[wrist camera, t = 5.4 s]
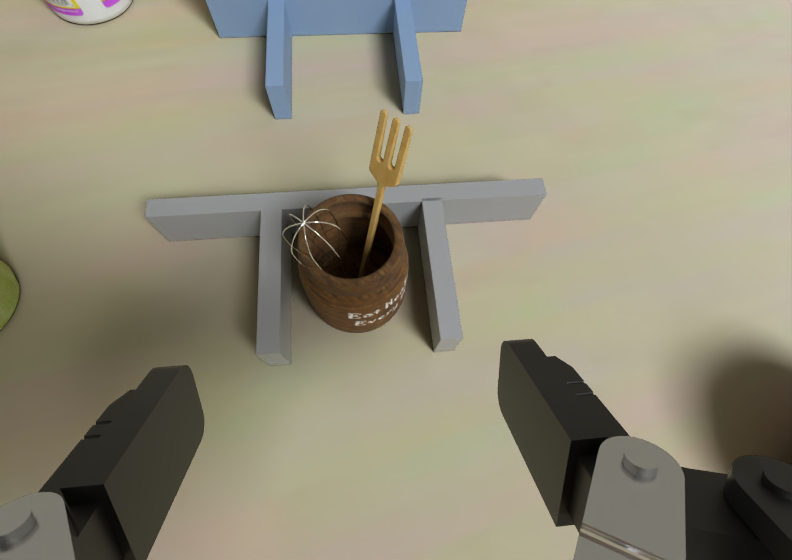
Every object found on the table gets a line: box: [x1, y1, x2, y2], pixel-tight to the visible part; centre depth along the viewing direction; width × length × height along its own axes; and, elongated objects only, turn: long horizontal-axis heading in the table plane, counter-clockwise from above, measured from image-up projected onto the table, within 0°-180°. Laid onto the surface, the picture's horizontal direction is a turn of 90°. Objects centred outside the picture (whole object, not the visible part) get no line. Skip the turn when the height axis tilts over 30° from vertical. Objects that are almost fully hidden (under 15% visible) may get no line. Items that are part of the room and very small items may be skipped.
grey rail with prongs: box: [145, 178, 546, 366], centre depth 25 cm, size 10×24×3 cm, turn 95°
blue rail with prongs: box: [206, 0, 467, 119], centre depth 30 cm, size 12×20×8 cm, turn 95°
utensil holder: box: [282, 110, 413, 333], centre depth 20 cm, size 6×6×12 cm
